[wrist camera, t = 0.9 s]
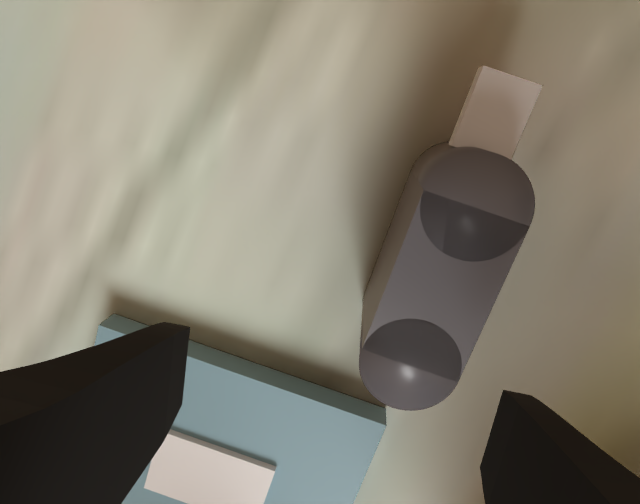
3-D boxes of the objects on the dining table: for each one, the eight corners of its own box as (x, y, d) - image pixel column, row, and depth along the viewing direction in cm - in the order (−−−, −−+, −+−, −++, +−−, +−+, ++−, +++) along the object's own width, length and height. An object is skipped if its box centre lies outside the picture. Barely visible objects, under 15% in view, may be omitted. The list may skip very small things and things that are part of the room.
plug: (532, 95, 17) (593, 88, 13) (423, 350, 20) (438, 423, 15) (449, 67, 17) (478, 49, 13) (352, 325, 20) (345, 391, 15)
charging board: (385, 408, 21) (386, 430, 20) (312, 583, 24) (307, 613, 22) (113, 313, 21) (94, 328, 20) (72, 498, 24) (53, 523, 23)
